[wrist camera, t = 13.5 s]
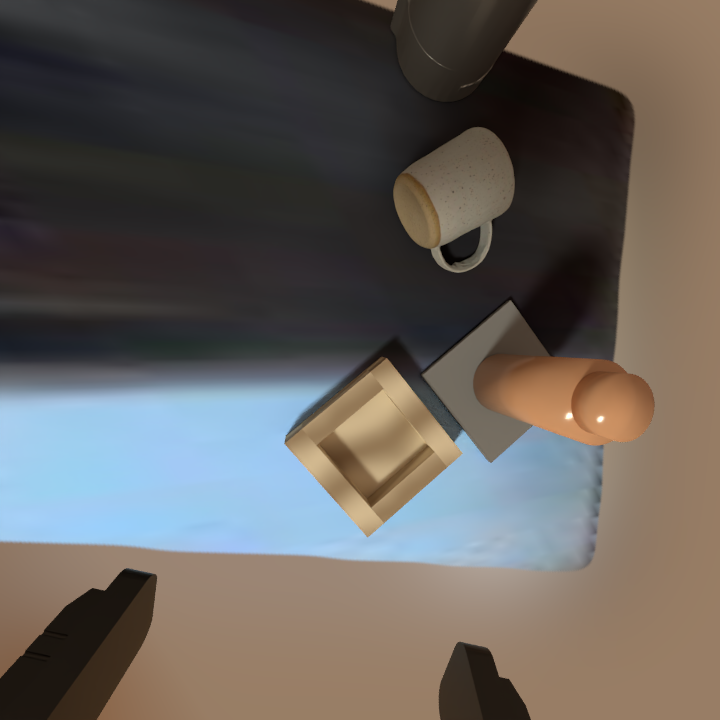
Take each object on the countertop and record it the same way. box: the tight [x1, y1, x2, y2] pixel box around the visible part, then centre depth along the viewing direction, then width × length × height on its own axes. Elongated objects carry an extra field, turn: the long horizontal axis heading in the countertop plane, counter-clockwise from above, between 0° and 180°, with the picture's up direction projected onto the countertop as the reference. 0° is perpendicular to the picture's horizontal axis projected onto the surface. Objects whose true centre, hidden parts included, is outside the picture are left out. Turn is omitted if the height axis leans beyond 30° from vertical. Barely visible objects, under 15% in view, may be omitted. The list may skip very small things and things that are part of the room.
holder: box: [284, 357, 463, 537], centre depth 34 cm, size 12×12×2 cm
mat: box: [421, 300, 550, 463], centre depth 36 cm, size 12×12×1 cm
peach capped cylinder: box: [473, 354, 654, 445], centre depth 29 cm, size 7×6×14 cm
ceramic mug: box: [393, 127, 515, 273], centre depth 31 cm, size 11×8×8 cm
